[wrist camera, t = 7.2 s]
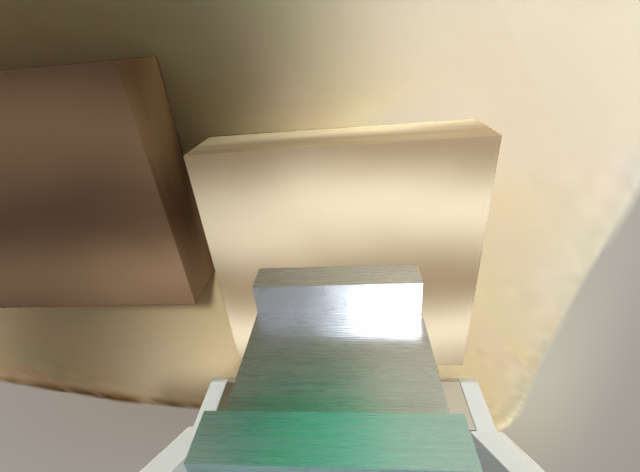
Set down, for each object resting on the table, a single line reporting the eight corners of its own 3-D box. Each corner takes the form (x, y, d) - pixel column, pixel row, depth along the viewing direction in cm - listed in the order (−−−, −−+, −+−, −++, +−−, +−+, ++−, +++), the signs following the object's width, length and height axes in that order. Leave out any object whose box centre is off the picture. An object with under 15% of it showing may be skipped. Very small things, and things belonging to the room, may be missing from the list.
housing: (286, 406, 15) (252, 608, 9) (259, 268, 11) (183, 463, 6) (408, 407, 14) (443, 621, 9) (417, 263, 11) (483, 471, 6)
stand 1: (-74, 77, 16) (-156, 85, 13) (155, 56, 15) (114, 59, 12) (41, 274, 21) (-2, 307, 19) (215, 269, 20) (195, 303, 18)
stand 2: (209, 136, 16) (183, 155, 14) (475, 118, 15) (501, 135, 13) (253, 327, 22) (241, 365, 20) (448, 324, 21) (462, 365, 18)
